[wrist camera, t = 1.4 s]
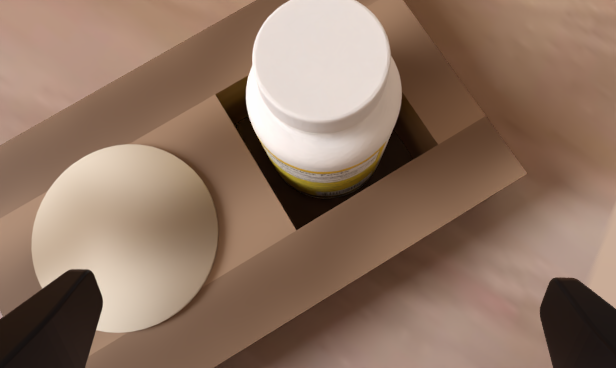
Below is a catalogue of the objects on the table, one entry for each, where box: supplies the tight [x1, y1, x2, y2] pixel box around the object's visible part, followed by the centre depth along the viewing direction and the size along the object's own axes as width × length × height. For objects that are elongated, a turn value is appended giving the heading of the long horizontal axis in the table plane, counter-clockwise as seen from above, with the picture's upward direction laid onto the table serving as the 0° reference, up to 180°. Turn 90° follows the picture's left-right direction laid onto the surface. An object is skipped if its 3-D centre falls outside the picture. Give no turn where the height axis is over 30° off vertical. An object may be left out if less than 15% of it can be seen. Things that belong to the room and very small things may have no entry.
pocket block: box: [0, 0, 527, 368], centre depth 21 cm, size 12×20×4 cm, turn 120°
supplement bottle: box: [246, 0, 402, 198], centre depth 18 cm, size 5×5×10 cm
